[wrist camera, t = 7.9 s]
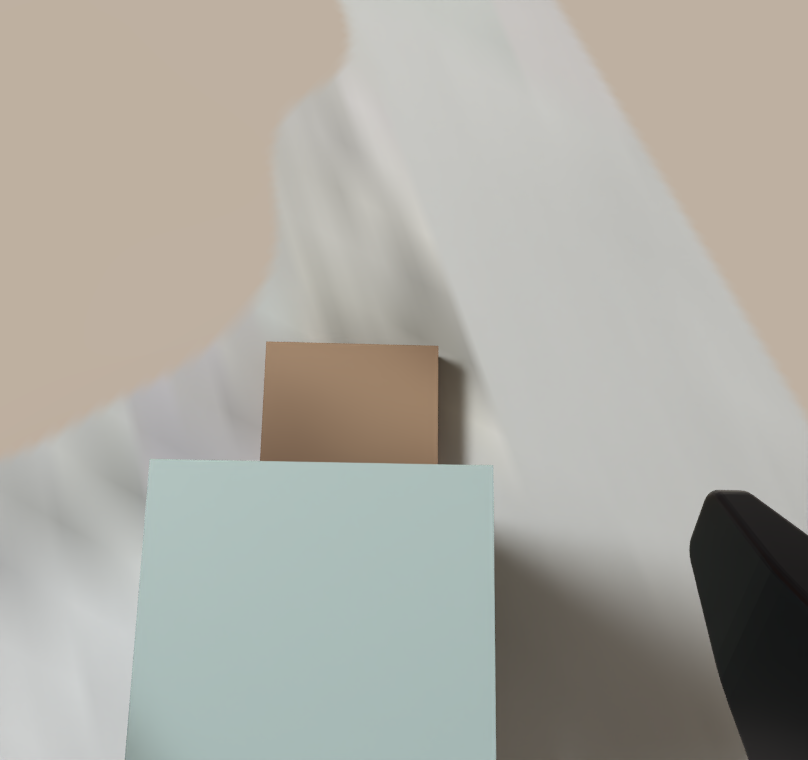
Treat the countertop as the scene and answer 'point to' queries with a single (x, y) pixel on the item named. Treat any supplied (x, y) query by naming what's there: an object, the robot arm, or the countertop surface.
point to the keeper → (315, 612)
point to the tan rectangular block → (350, 403)
